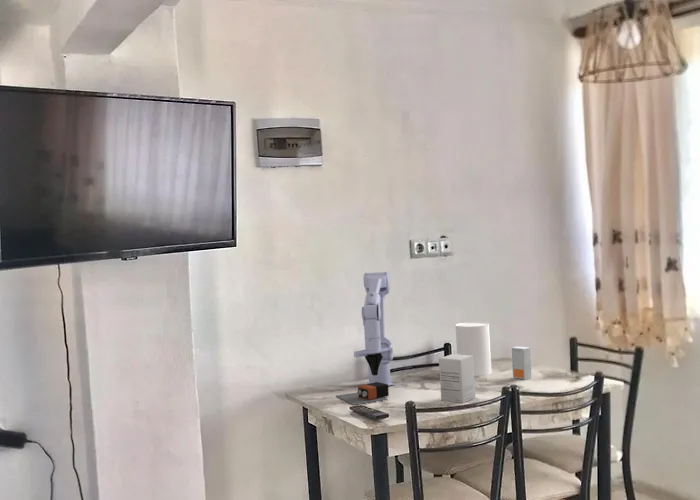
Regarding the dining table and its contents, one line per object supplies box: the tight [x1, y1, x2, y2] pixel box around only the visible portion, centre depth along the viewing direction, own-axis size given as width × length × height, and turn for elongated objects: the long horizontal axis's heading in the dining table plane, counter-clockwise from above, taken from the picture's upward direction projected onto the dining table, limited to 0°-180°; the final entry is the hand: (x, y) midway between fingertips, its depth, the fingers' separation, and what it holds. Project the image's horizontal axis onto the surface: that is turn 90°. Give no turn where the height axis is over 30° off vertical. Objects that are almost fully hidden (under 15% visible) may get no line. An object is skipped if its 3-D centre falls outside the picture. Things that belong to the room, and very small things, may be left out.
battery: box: [356, 382, 389, 400], centre depth 261 cm, size 4×7×10 cm
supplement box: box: [438, 353, 476, 404], centre depth 251 cm, size 9×9×15 cm
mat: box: [335, 392, 388, 406], centre depth 261 cm, size 17×13×1 cm
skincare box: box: [511, 345, 532, 381], centre depth 281 cm, size 6×4×12 cm
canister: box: [455, 321, 492, 377], centre depth 296 cm, size 14×14×20 cm
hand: (374, 374), depth 263 cm, fingers closed
